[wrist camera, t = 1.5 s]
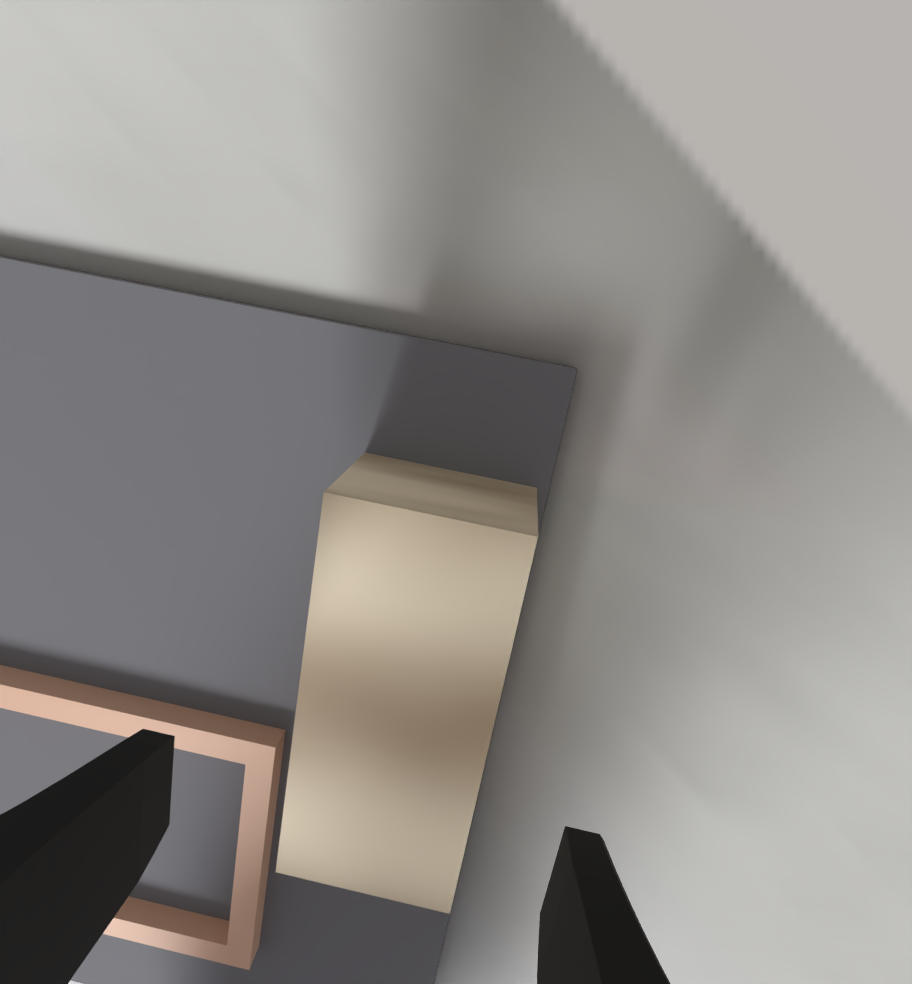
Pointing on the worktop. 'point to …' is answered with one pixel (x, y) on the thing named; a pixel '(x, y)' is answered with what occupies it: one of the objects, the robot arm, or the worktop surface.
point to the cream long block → (402, 675)
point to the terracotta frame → (199, 736)
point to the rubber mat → (216, 558)
